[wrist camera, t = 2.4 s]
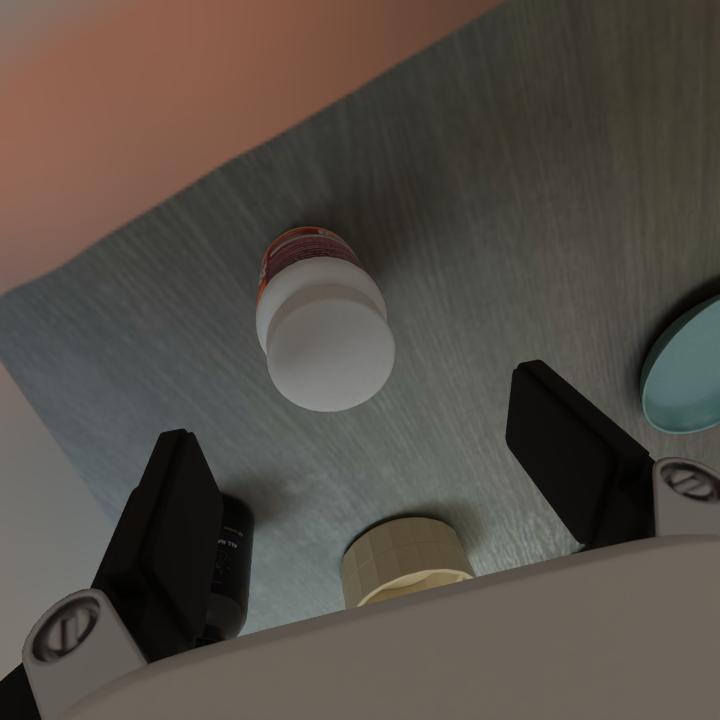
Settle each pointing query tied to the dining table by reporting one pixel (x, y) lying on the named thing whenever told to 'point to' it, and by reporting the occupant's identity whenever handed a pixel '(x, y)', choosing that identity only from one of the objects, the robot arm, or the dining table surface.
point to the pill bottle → (322, 322)
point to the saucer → (685, 373)
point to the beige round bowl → (402, 561)
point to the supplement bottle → (230, 576)
